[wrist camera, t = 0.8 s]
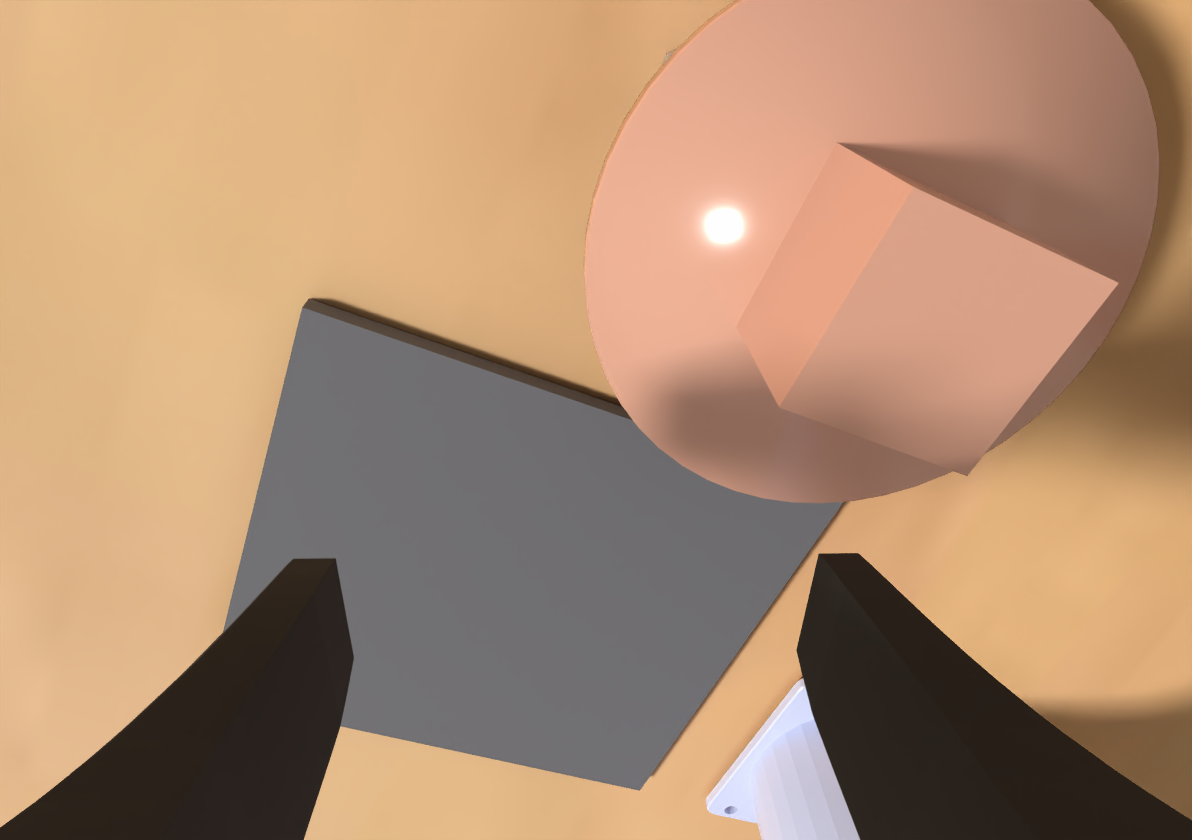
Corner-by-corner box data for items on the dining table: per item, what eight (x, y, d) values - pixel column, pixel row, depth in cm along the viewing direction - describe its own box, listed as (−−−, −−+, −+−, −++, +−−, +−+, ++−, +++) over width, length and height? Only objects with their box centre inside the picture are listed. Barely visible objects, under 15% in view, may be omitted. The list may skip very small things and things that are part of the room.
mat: (842, 483, 23) (849, 494, 22) (638, 776, 30) (639, 790, 29) (309, 298, 19) (302, 307, 19) (214, 682, 26) (207, 697, 25)
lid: (1257, 105, 15) (1488, 147, 11) (918, 535, 20) (1001, 661, 16) (746, -188, 12) (831, -259, 9) (507, 397, 17) (494, 511, 14)
